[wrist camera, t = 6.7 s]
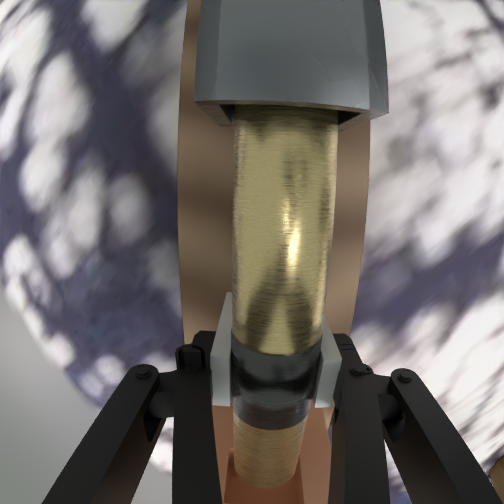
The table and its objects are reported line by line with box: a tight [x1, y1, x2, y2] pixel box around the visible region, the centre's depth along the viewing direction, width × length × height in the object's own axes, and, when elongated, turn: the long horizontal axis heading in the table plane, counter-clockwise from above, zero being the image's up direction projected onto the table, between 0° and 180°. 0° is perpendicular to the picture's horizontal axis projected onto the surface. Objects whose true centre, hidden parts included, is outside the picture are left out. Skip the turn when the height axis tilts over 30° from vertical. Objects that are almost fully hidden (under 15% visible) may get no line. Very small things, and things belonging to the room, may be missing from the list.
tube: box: [231, 104, 338, 488], centre depth 11 cm, size 26×4×4 cm, turn 179°
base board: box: [177, 0, 370, 431], centre depth 19 cm, size 39×12×1 cm, turn 179°
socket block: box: [212, 395, 331, 504], centre depth 18 cm, size 4×9×12 cm, turn 89°
